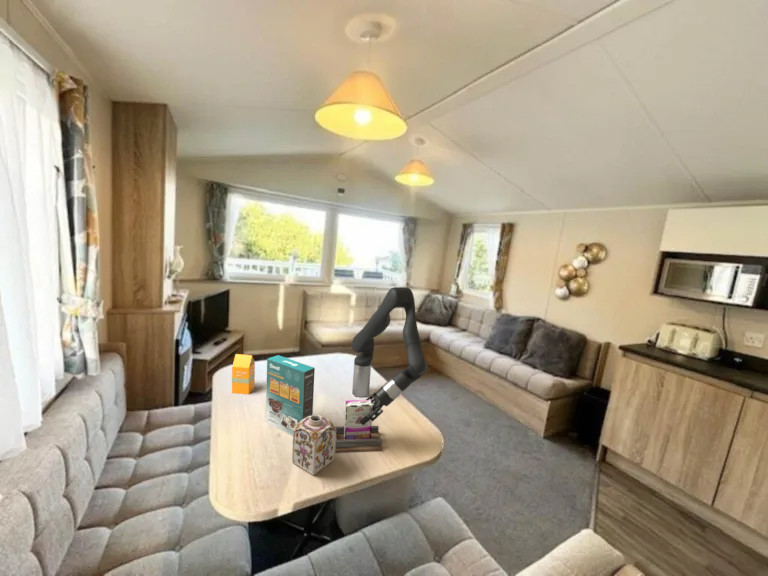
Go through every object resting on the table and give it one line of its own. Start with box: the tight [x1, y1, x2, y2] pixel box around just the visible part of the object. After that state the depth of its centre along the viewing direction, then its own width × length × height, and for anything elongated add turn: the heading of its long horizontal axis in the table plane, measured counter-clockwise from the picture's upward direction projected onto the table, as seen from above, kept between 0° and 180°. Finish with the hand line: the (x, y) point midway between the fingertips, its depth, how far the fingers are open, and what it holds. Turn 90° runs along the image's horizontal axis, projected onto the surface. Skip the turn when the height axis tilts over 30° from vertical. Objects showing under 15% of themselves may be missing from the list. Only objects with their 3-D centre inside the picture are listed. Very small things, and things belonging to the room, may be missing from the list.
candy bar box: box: [343, 399, 373, 440], centre depth 142 cm, size 11×5×16 cm, turn 101°
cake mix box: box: [265, 354, 316, 437], centre depth 146 cm, size 22×6×30 cm, turn 59°
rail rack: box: [335, 425, 383, 453], centre depth 142 cm, size 14×20×4 cm
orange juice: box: [231, 353, 256, 395], centre depth 177 cm, size 8×9×20 cm
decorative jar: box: [291, 414, 336, 476], centre depth 127 cm, size 12×12×18 cm
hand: (360, 417), depth 141 cm, fingers open, 8 cm apart
